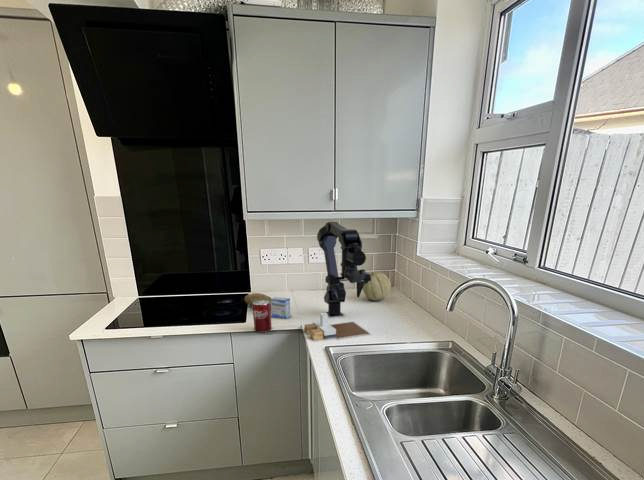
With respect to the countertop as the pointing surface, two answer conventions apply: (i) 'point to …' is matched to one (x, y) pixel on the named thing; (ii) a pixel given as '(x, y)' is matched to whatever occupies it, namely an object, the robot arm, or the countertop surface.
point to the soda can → (262, 316)
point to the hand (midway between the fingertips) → (348, 298)
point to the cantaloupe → (377, 287)
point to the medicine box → (280, 307)
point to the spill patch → (348, 330)
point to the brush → (325, 326)
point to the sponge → (257, 298)
